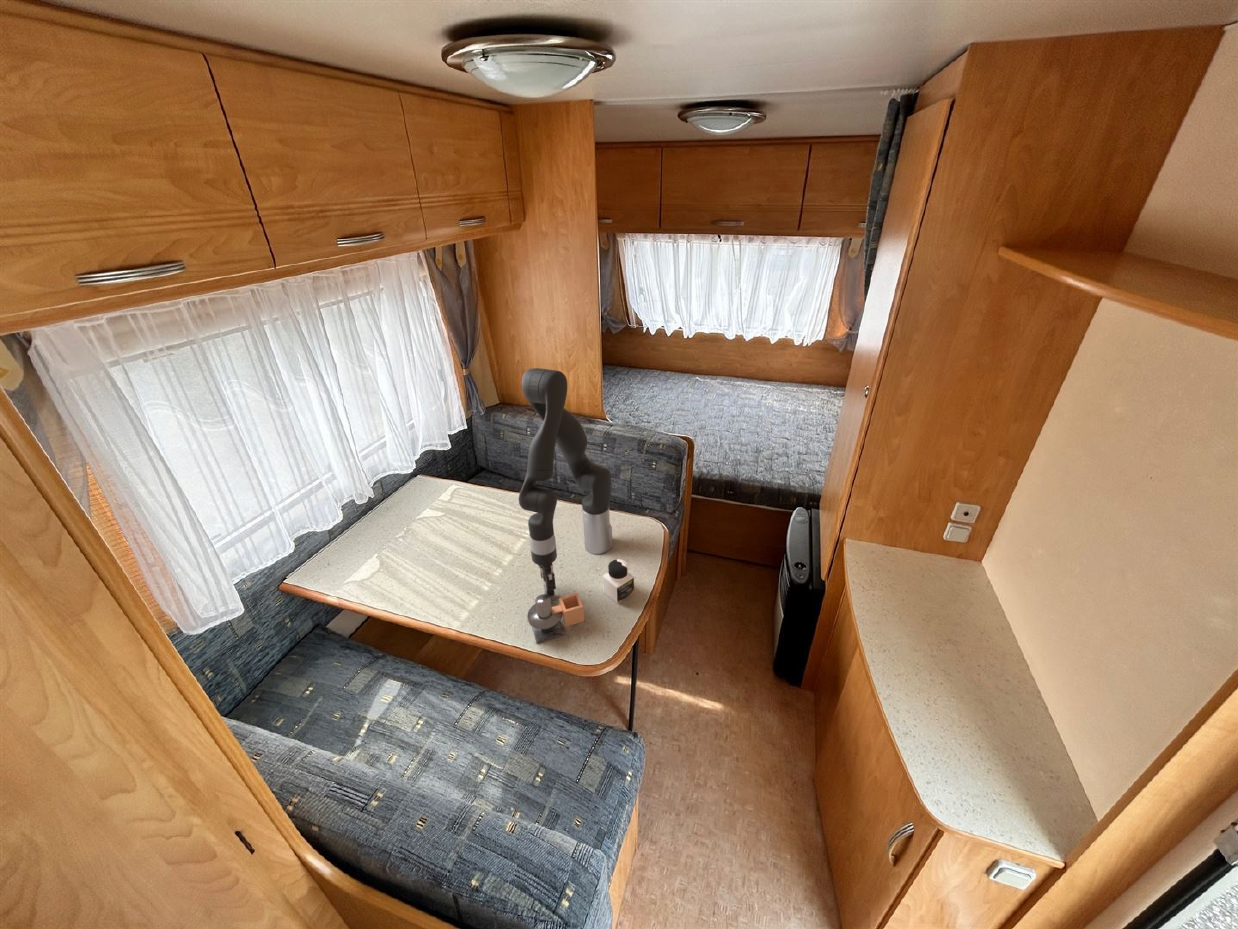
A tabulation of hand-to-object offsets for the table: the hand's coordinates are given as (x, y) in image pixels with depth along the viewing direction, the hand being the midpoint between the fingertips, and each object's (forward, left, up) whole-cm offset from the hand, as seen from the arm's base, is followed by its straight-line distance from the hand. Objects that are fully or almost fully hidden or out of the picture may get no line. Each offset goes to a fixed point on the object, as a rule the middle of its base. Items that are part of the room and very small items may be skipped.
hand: (547, 586), depth 160 cm
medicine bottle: (-21, +6, -5) cm, 23 cm away
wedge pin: (0, 0, -5) cm, 5 cm away
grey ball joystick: (+4, +12, -5) cm, 14 cm away
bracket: (-3, +12, -3) cm, 13 cm away
